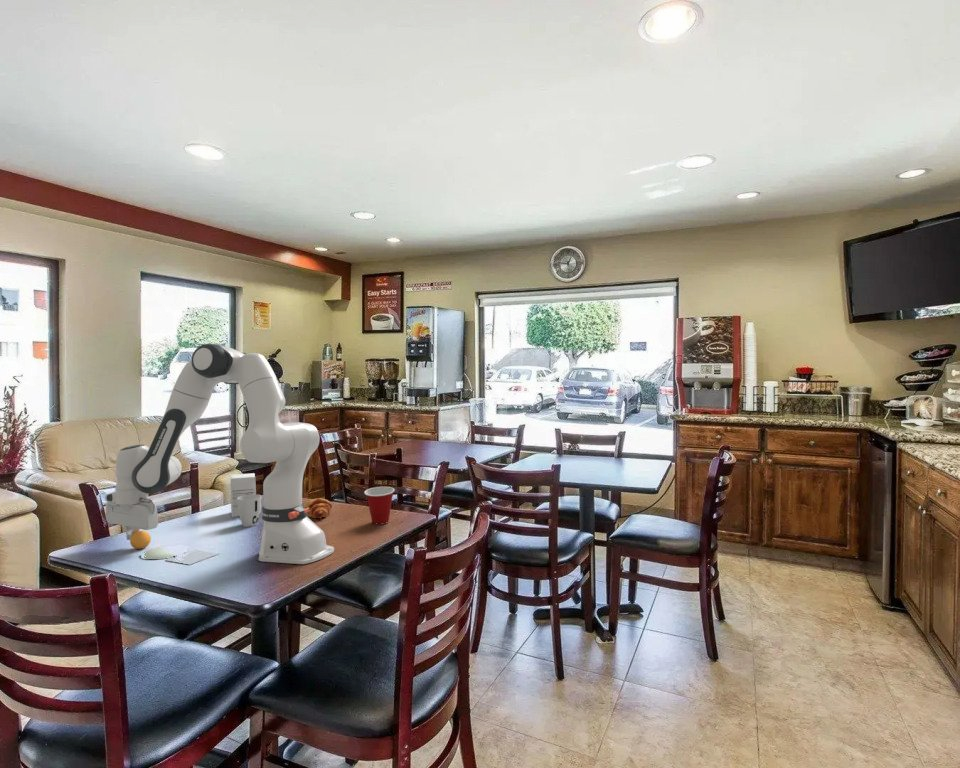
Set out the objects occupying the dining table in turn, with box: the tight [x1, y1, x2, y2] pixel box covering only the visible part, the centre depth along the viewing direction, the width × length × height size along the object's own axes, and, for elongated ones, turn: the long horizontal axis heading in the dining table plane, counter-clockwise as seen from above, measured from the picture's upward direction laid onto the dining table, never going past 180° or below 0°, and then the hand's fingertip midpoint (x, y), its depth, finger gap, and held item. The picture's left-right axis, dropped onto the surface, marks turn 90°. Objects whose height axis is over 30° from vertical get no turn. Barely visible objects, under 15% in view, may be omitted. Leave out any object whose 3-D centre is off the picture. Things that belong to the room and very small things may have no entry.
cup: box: [237, 494, 263, 528], centre depth 195 cm, size 8×8×10 cm
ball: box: [129, 530, 152, 550], centre depth 169 cm, size 6×6×6 cm
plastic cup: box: [364, 486, 395, 525], centre depth 195 cm, size 11×11×12 cm
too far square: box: [166, 549, 219, 566], centre depth 160 cm, size 10×10×1 cm
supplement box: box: [230, 472, 257, 518], centre depth 211 cm, size 9×9×15 cm
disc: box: [144, 546, 188, 560], centre depth 165 cm, size 13×13×1 cm
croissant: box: [304, 497, 333, 520], centre depth 209 cm, size 21×10×8 cm, turn 24°
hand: (131, 539), depth 171 cm, fingers closed
